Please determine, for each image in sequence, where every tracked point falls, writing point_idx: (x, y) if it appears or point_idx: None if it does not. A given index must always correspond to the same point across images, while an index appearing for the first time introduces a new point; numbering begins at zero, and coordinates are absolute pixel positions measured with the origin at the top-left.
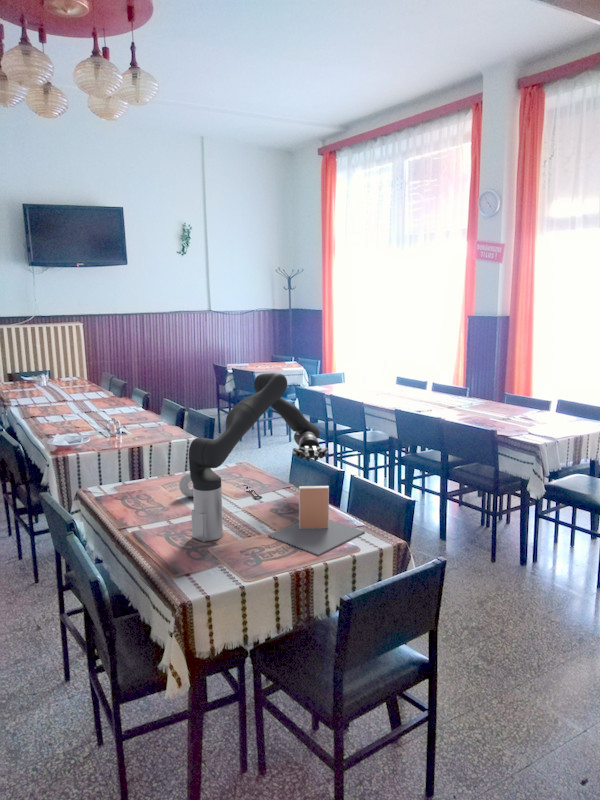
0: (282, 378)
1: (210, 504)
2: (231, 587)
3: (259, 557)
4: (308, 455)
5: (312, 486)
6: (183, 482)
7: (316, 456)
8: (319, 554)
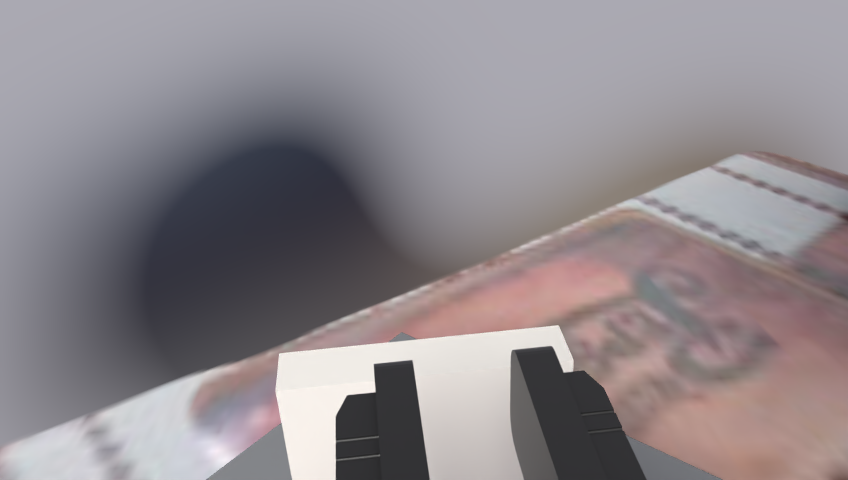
0: None
1: None
2: (662, 190)
3: (659, 311)
4: (533, 351)
5: (438, 363)
6: None
7: (373, 396)
8: (396, 338)
